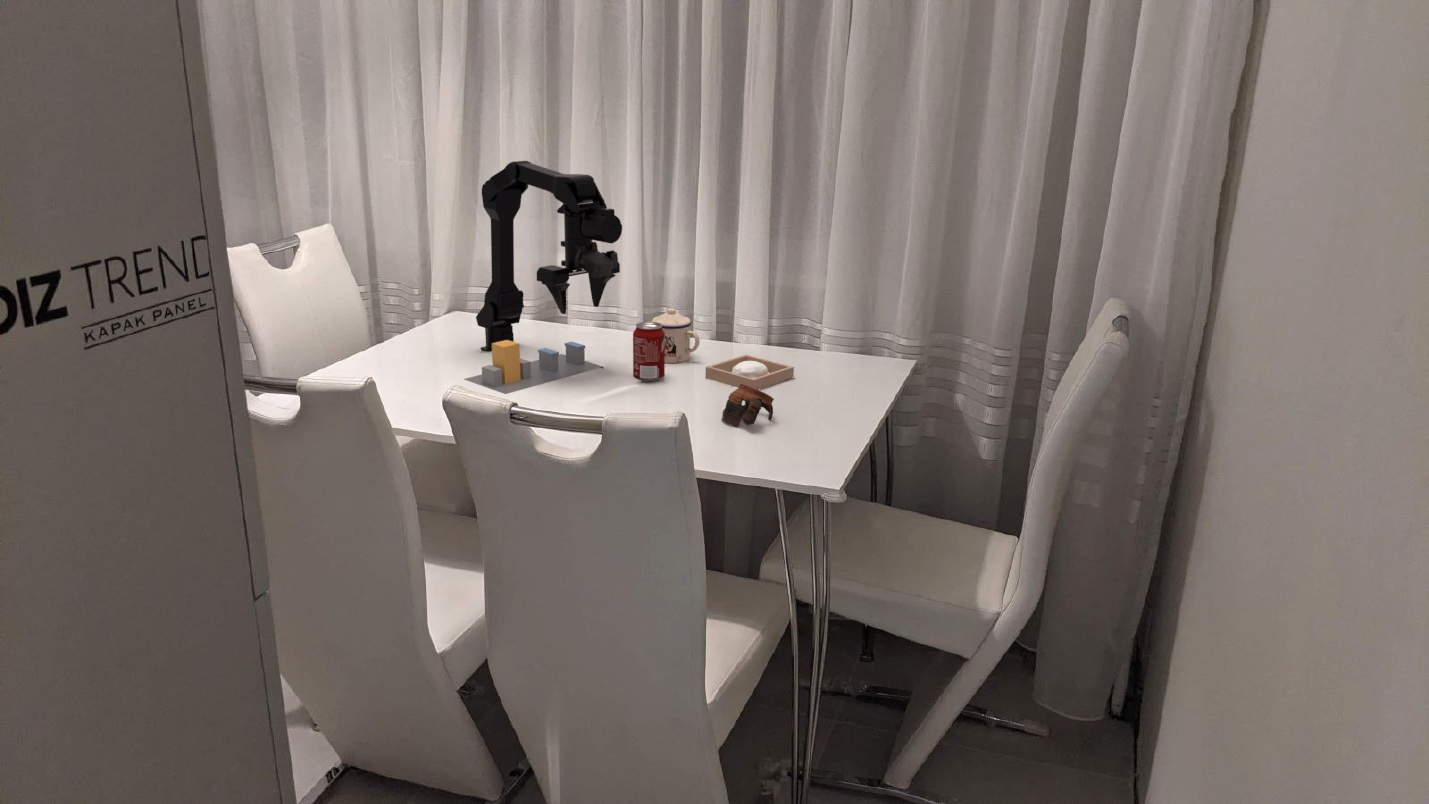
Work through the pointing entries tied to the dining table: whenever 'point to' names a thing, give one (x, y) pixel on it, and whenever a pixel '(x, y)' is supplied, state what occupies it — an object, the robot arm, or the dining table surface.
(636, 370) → the soda can
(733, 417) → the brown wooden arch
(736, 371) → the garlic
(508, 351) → the orange rectangular block
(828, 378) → the dining table surface
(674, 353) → the teacup with lid
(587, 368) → the grey board with pegs
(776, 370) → the garlic dish
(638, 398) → the dining table surface
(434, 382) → the dining table surface
